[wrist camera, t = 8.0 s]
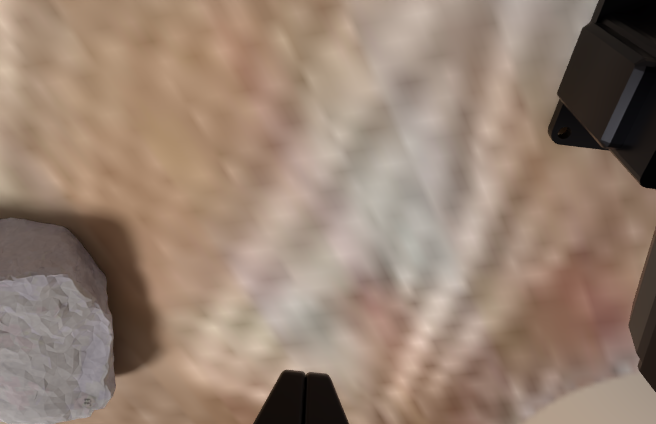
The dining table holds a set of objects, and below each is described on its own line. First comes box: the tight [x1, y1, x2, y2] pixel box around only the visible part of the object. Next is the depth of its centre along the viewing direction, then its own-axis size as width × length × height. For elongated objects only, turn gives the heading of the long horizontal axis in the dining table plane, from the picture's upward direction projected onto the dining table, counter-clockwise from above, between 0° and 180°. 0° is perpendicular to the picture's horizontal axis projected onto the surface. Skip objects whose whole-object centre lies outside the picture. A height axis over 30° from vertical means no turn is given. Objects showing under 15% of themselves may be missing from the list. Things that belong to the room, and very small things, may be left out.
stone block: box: [0, 218, 116, 424], centre depth 26 cm, size 12×5×10 cm
